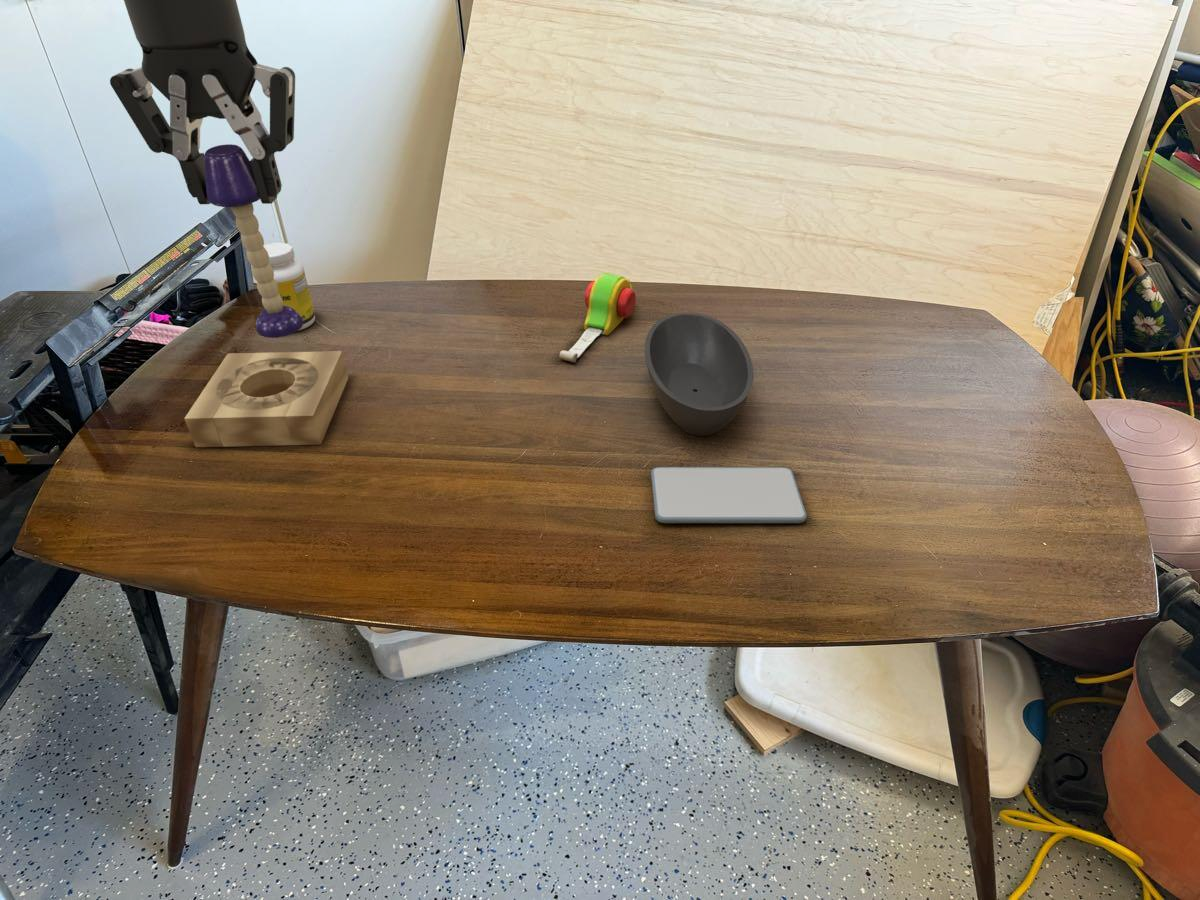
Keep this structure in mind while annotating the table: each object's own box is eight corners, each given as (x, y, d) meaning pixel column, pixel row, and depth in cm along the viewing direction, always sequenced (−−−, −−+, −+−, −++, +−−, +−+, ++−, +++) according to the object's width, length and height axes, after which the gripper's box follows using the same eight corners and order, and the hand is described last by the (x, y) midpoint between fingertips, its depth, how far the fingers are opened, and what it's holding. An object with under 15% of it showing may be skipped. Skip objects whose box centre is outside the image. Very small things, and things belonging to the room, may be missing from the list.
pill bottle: (261, 330, 111) (238, 255, 104) (287, 310, 115) (267, 237, 109) (300, 336, 109) (279, 261, 102) (325, 316, 114) (307, 242, 107)
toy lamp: (287, 342, 73) (234, 158, 63) (240, 338, 74) (181, 156, 64) (311, 318, 77) (265, 140, 67) (266, 314, 77) (214, 138, 67)
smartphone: (808, 519, 78) (656, 518, 77) (807, 526, 78) (655, 526, 78) (791, 465, 84) (650, 465, 84) (790, 473, 85) (650, 472, 85)
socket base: (195, 447, 89) (183, 418, 87) (236, 380, 100) (227, 353, 98) (320, 444, 89) (313, 415, 87) (348, 378, 100) (342, 350, 98)
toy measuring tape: (647, 306, 116) (649, 263, 112) (587, 369, 102) (586, 323, 98) (608, 297, 118) (608, 255, 114) (544, 358, 104) (541, 313, 100)
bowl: (727, 353, 105) (732, 311, 101) (763, 455, 87) (770, 408, 84) (635, 356, 104) (637, 313, 101) (653, 459, 87) (655, 412, 83)
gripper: (44, -23, 54) (135, 219, 65) (253, -26, 54) (311, 216, 65) (98, -37, 60) (174, 187, 71) (286, -39, 60) (334, 184, 71)
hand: (239, 200), depth 68 cm, fingers closed on toy lamp, 4 cm apart
